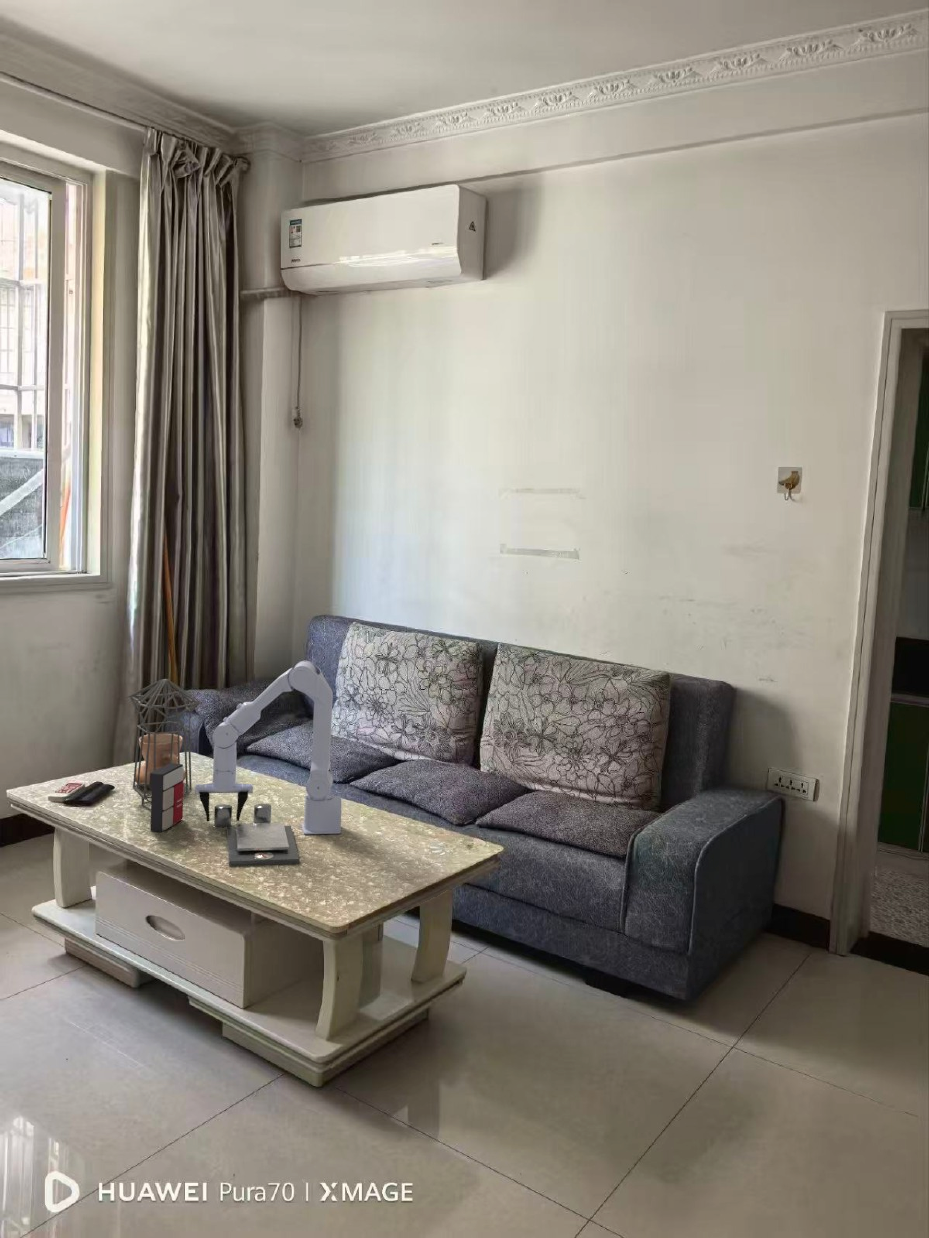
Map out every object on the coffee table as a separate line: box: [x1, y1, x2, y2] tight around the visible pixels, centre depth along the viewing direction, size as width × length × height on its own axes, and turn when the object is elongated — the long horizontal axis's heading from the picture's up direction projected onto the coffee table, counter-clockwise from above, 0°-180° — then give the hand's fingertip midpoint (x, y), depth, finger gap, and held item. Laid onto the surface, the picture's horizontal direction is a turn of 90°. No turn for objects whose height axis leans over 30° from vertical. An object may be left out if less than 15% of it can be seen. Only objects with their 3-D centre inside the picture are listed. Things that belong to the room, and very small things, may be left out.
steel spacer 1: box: [213, 803, 233, 829], centre depth 257 cm, size 4×4×5 cm
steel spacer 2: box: [253, 803, 272, 823], centre depth 260 cm, size 4×4×5 cm
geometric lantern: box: [126, 678, 202, 811], centre depth 268 cm, size 16×16×35 cm
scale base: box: [226, 825, 300, 867], centre depth 244 cm, size 16×24×2 cm, turn 14°
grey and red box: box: [148, 763, 185, 833], centre depth 254 cm, size 11×4×15 cm, turn 168°
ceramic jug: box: [135, 733, 186, 789], centre depth 287 cm, size 18×14×14 cm
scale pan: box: [235, 822, 289, 851], centre depth 245 cm, size 12×18×1 cm, turn 14°
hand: (222, 820), depth 258 cm, fingers open, 7 cm apart
